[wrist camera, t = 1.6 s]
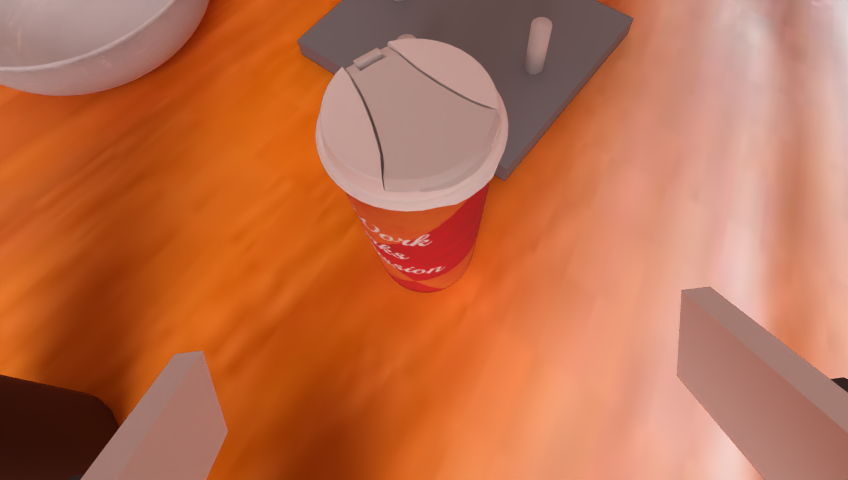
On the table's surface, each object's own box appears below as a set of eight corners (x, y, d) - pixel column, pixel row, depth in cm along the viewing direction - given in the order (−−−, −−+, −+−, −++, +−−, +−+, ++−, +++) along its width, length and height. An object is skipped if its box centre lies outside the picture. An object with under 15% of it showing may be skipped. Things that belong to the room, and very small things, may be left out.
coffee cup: (342, 237, 35) (272, 87, 22) (442, 176, 37) (434, 0, 23) (410, 337, 32) (377, 236, 18) (515, 266, 34) (557, 124, 20)
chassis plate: (302, 54, 42) (281, -3, 37) (430, -62, 47) (428, -125, 42) (504, 181, 36) (512, 134, 31) (627, 33, 41) (651, -28, 36)
